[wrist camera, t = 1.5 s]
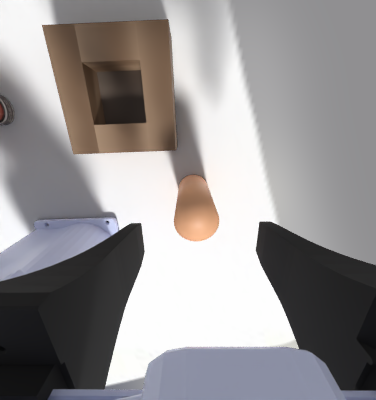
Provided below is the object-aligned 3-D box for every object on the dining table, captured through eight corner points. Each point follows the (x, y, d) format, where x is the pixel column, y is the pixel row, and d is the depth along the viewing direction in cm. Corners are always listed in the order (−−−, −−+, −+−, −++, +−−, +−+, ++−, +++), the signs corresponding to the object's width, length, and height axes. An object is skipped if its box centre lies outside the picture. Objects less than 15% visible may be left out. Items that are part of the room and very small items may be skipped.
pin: (179, 202, 21) (175, 241, 14) (177, 175, 20) (172, 201, 13) (207, 201, 21) (218, 240, 14) (207, 174, 20) (219, 199, 13)
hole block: (90, 150, 19) (73, 154, 16) (67, 43, 16) (42, 25, 13) (177, 147, 19) (175, 150, 16) (171, 38, 16) (168, 19, 13)
